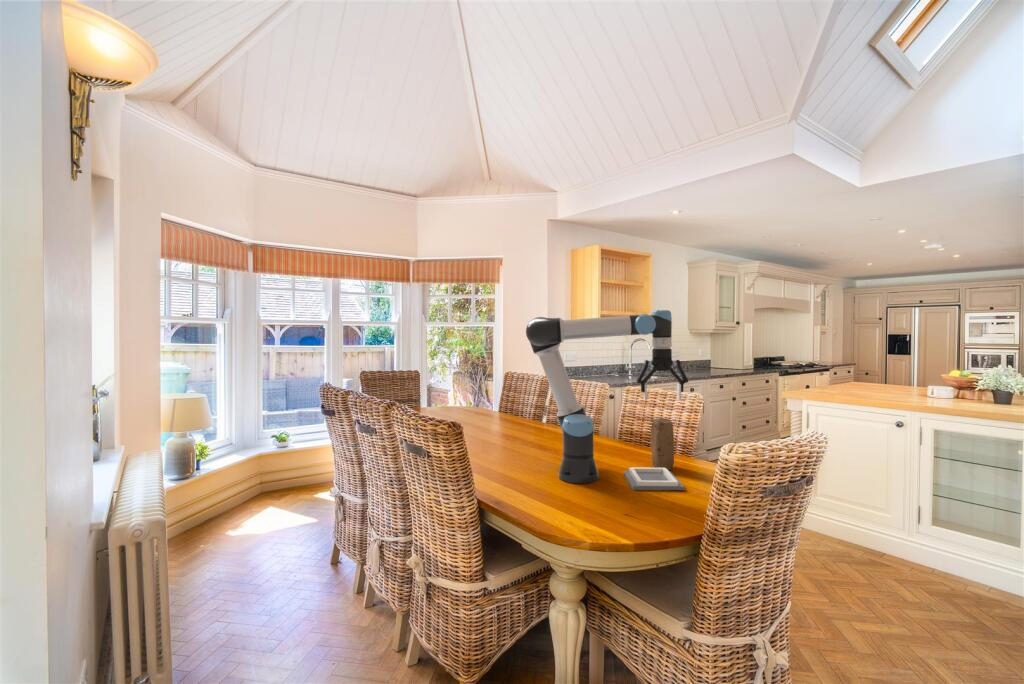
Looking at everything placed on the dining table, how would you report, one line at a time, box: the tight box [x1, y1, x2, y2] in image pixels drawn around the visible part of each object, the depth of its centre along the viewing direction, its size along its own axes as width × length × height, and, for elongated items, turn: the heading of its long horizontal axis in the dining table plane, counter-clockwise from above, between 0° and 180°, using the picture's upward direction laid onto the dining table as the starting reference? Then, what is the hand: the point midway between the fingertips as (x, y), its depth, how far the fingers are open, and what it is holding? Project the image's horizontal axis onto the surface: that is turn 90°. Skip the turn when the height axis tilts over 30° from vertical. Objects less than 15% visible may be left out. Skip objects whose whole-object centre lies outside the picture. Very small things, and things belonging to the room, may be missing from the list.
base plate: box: [623, 466, 686, 491], centre depth 175 cm, size 18×18×3 cm
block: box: [650, 418, 675, 471], centre depth 192 cm, size 11×8×20 cm
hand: (662, 400), depth 191 cm, fingers open, 13 cm apart
